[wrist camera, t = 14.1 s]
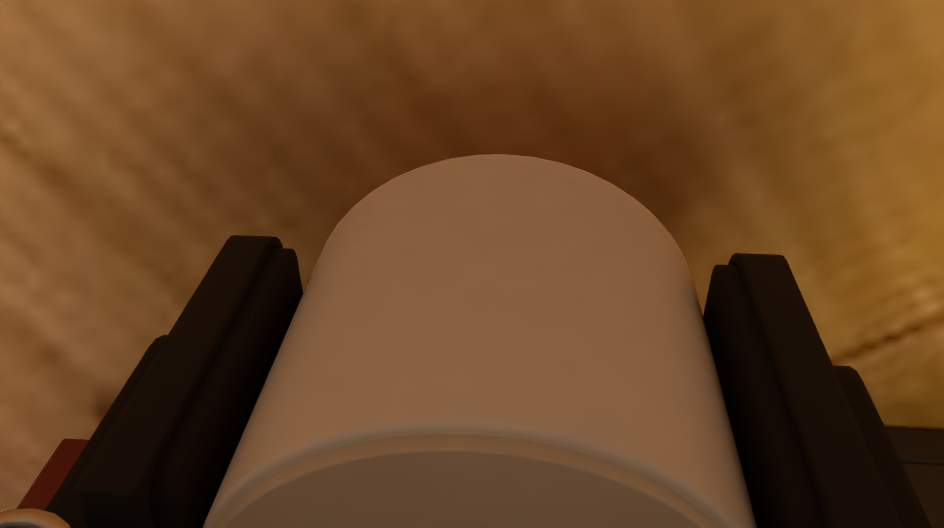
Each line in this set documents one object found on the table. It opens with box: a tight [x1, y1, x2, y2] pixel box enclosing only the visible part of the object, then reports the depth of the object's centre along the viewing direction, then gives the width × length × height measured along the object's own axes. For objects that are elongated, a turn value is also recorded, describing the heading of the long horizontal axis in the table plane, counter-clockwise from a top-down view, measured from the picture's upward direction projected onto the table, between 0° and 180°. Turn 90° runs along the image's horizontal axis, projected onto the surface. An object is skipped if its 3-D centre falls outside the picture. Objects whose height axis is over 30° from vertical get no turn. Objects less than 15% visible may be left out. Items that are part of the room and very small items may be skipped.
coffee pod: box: [202, 154, 757, 528], centre depth 9 cm, size 5×5×4 cm
